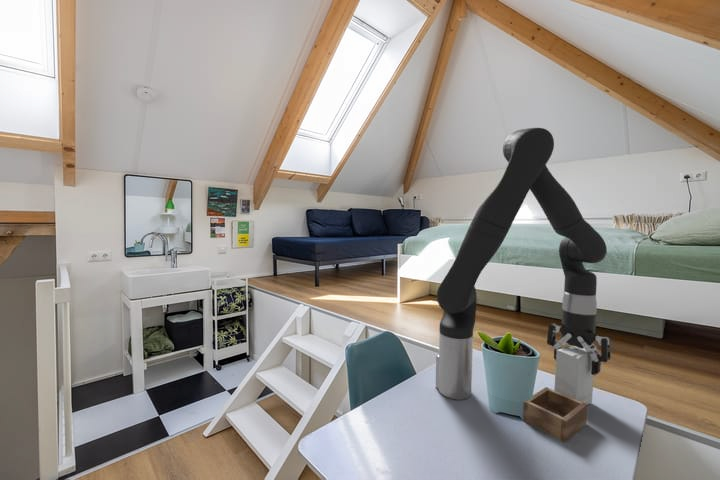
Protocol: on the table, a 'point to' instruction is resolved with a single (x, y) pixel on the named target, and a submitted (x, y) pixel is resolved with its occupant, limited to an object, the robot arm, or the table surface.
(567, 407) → the box
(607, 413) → the table surface
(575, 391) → the skincare box
